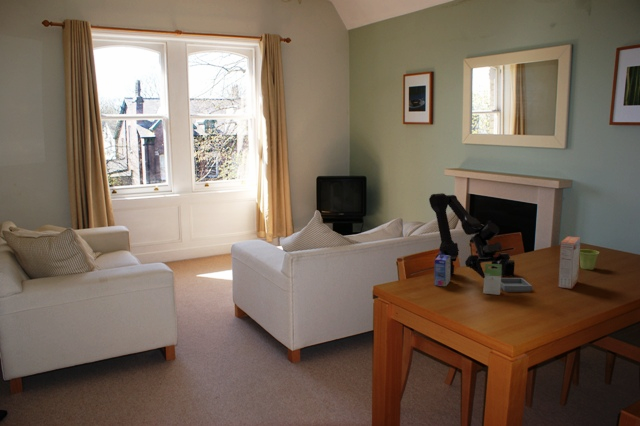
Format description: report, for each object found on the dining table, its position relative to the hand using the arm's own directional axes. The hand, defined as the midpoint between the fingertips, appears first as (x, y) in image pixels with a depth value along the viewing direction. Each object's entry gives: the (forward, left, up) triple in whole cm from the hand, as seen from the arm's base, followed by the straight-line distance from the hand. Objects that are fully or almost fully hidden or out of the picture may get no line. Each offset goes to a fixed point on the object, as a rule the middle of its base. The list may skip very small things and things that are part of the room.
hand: (494, 277), depth 232 cm
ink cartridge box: (-18, +16, -8) cm, 26 cm away
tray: (+12, +9, -7) cm, 17 cm away
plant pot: (+60, +40, -8) cm, 72 cm away
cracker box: (+38, +13, -8) cm, 41 cm away
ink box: (0, +1, -8) cm, 8 cm away
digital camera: (+14, +29, -8) cm, 33 cm away
